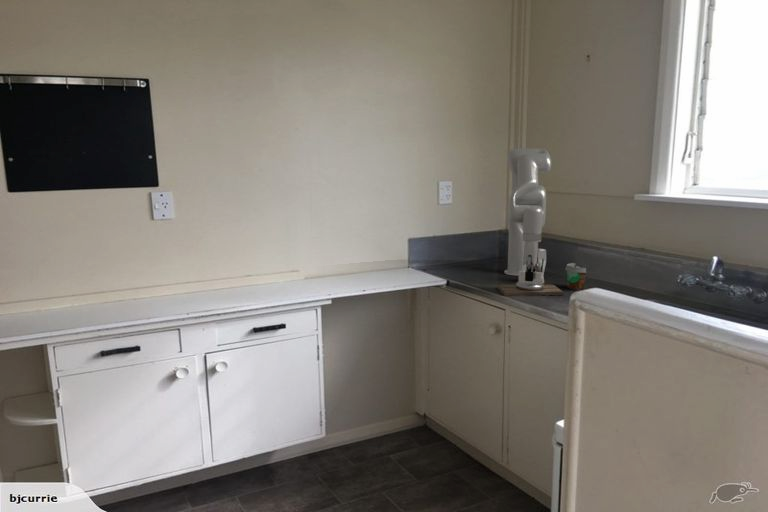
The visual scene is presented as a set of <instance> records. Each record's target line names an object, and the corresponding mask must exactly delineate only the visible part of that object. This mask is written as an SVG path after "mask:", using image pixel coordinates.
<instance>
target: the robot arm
mask: <svg viewBox="0 0 768 512" xmlns="http://www.w3.org/2000/svg"><path fill="white" fill-rule="evenodd" d="M507 154H508V155H507V162H508V166H509V169H510V172H511V177H512V178H511V179H512V180H511V194H510V196H509V199H508V213H507V224H508V249H507V250H508V251H507V252H508V253H507V269H505V270H504V271H503V273H504V274H505V275H508V276H516V277H519V271H525V281H531V282H532V281H533V272H535V269H536V268H535V264H536V262H537V254H538V249H539V243H541V242H542V232H543V231H542V228H544V226H545V224H546V216H547V213H546V212H547V190H546V188H545V187H544V186H543V185H540V184H539V173H540V174H541V173H542V174H543V173H544V174H545V173H547V174H548V173H549V172H550V171H551V169H552V158H551V156H550V155H551V154H550V153H549V151H548V150H547V149H546V148H539V147H538V148H537V147H536V148H529V147H528V148H527V147H525V148H524V147H519V148H513V149H511V150H509V152H508V153H507Z"/></svg>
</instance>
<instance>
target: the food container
mask: <svg viewBox="0 0 768 512" xmlns="http://www.w3.org/2000/svg"><path fill="white" fill-rule="evenodd" d="M565 271H566V286H567V289H568V288H569V289H568V290H571V289H574V290H573V291H578V290H577V289H579V290H583V289H585V282H586V274H587V268H586V267H581V266H578V265H576V262H574V263H573V262H571V263H567V264H566V266H565Z"/></svg>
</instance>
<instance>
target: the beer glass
mask: <svg viewBox="0 0 768 512" xmlns="http://www.w3.org/2000/svg"><path fill="white" fill-rule="evenodd" d="M546 265H547V249H546V248H538V254H537V262H536V264H535V268H536V269H535V272H542V283H543V284H545V279H544V278H545V277H544V276H545V274H544V273H545V269H546Z"/></svg>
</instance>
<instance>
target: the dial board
mask: <svg viewBox="0 0 768 512" xmlns="http://www.w3.org/2000/svg"><path fill="white" fill-rule="evenodd" d="M543 284H544V286H543V289H542V290H523V289H519V288H517V287H516V284H508V283H507V284H503V283H502V284H497V287H496V288H497V289H498V290H499V291H500V292H501V294H503V296H505V297H509V296H510V297H513V296H514V297H515V296H516V297H517V296H518V295H565V294H564V292H565V291H563V290H561V289H560V288H559V287H557V286H556V285H555V284H548V283H547V284H545V283H543ZM518 297H519V296H518Z"/></svg>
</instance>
